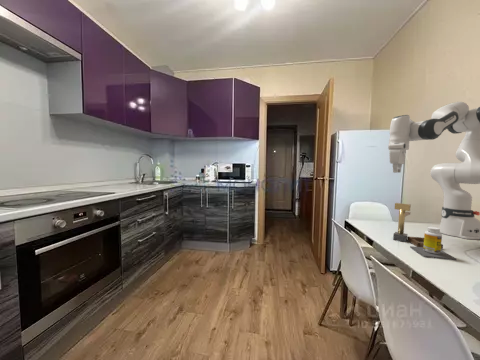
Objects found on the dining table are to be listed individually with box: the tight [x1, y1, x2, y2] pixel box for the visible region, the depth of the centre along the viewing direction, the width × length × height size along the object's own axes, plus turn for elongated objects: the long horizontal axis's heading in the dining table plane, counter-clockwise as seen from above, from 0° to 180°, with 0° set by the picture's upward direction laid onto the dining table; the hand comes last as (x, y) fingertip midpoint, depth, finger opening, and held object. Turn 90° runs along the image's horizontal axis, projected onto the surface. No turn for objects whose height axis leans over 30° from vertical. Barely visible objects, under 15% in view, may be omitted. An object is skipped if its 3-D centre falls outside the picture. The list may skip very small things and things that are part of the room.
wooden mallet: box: [394, 202, 412, 234], centre depth 115 cm, size 13×6×15 cm, turn 132°
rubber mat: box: [409, 245, 458, 261], centre depth 95 cm, size 11×11×1 cm
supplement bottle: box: [423, 226, 443, 254], centre depth 95 cm, size 6×6×10 cm
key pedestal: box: [392, 231, 408, 243], centre depth 112 cm, size 5×5×3 cm
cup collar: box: [407, 235, 444, 250], centre depth 106 cm, size 10×10×2 cm
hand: (396, 172), depth 121 cm, fingers open, 8 cm apart
